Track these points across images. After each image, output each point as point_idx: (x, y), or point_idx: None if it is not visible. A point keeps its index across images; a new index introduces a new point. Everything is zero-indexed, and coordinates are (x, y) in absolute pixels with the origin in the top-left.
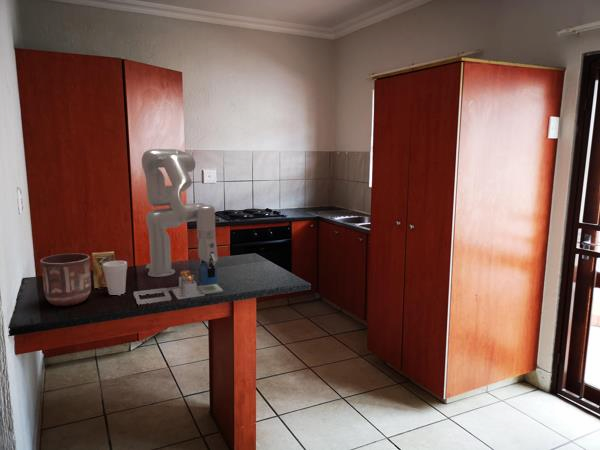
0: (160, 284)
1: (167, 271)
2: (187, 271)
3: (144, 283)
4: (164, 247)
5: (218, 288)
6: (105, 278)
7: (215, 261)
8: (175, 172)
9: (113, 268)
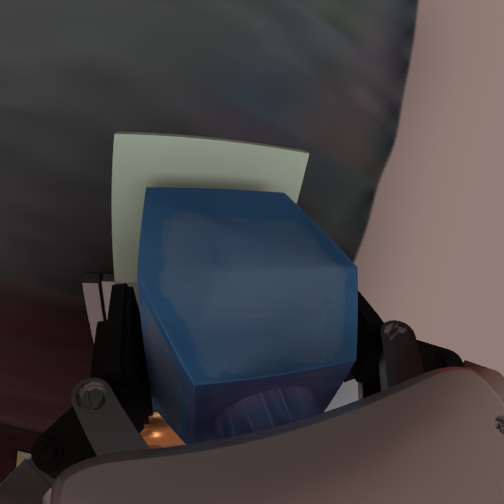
0: (15, 388)
1: None
2: (156, 437)
3: (2, 413)
4: None
5: (259, 167)
6: None
7: (494, 384)
8: None
9: None
